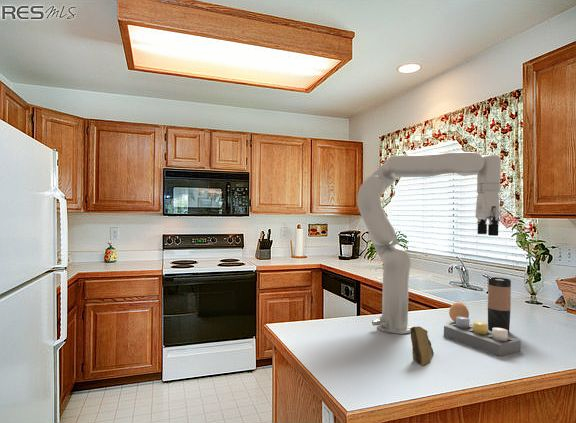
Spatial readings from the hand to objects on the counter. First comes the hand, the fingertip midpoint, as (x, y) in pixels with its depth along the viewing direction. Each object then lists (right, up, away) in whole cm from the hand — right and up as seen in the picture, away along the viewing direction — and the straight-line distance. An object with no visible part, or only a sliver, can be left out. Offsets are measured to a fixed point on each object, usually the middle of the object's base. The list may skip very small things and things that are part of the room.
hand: (487, 234), depth 136 cm
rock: (-32, -36, -25) cm, 55 cm away
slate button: (-11, -33, -3) cm, 35 cm away
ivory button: (-4, -33, -15) cm, 37 cm away
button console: (-8, -37, -9) cm, 39 cm away
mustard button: (-8, -33, -9) cm, 35 cm away
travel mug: (+7, -38, +6) cm, 39 cm away
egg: (-4, -37, +14) cm, 40 cm away
